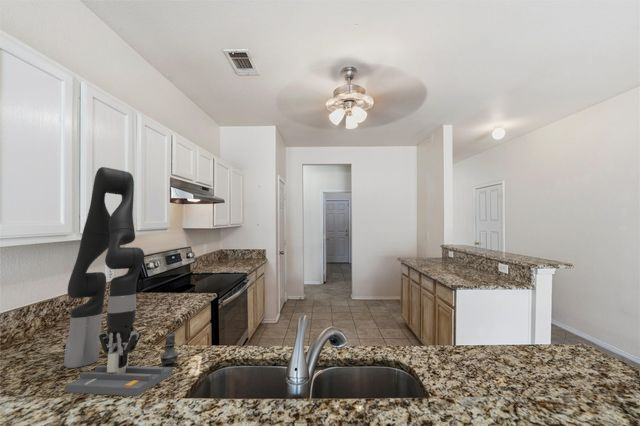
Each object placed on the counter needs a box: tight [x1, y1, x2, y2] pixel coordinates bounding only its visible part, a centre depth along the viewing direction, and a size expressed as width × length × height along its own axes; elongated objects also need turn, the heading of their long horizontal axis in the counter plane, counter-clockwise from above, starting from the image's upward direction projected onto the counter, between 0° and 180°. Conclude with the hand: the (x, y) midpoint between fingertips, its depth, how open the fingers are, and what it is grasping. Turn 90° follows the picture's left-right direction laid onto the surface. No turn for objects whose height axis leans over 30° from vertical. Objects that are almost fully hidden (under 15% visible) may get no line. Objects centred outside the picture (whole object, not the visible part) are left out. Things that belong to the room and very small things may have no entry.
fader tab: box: [106, 348, 130, 373], centre depth 85 cm, size 3×5×7 cm, turn 171°
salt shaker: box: [159, 329, 179, 368], centre depth 96 cm, size 6×6×12 cm
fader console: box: [64, 365, 174, 397], centre depth 84 cm, size 24×14×4 cm, turn 81°
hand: (117, 366), depth 85 cm, fingers closed on fader tab, 2 cm apart
